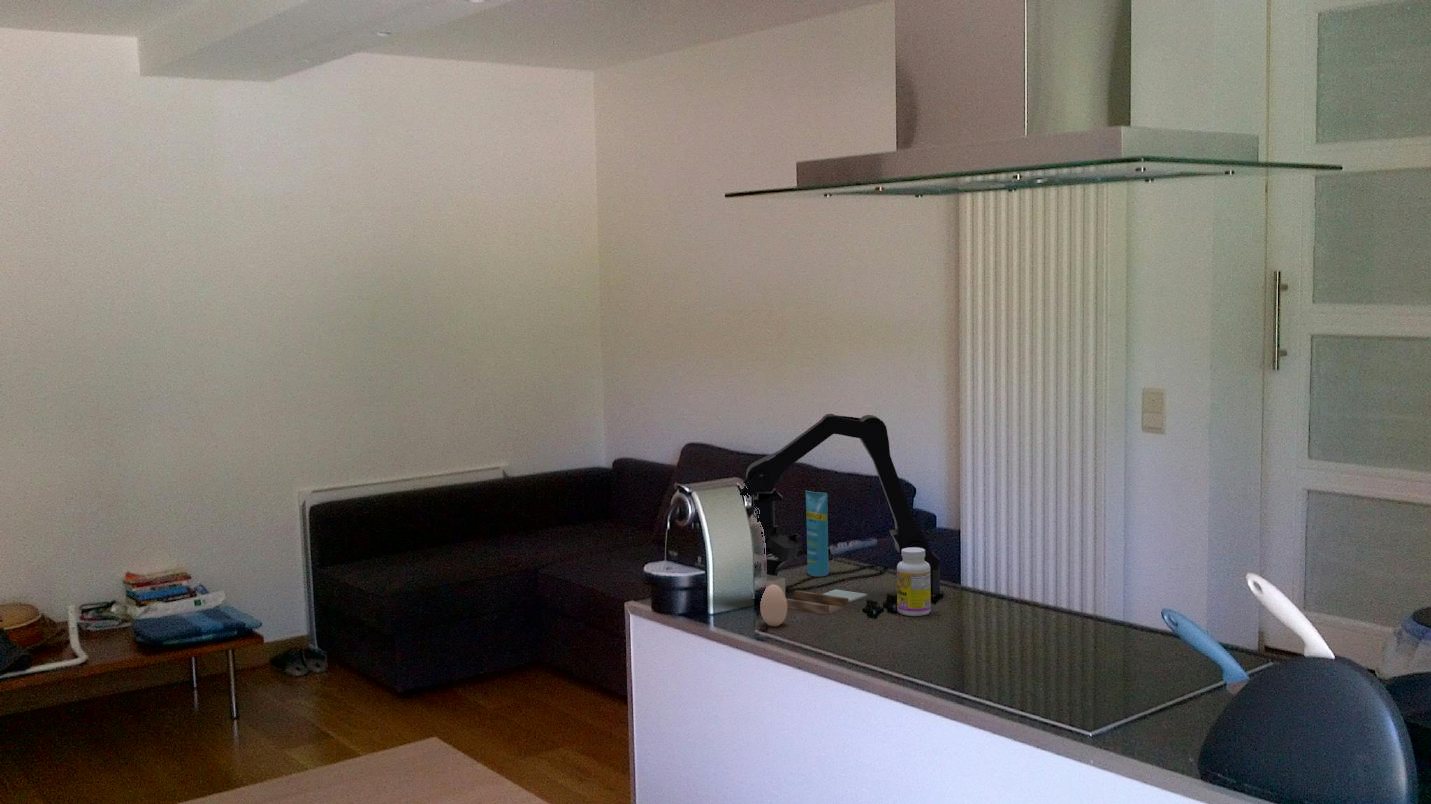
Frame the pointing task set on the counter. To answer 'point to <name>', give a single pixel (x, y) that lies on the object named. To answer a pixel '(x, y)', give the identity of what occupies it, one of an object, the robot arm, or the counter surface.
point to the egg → (773, 605)
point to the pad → (846, 594)
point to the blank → (776, 582)
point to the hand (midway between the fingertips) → (762, 594)
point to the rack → (816, 602)
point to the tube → (817, 533)
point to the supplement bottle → (913, 583)
